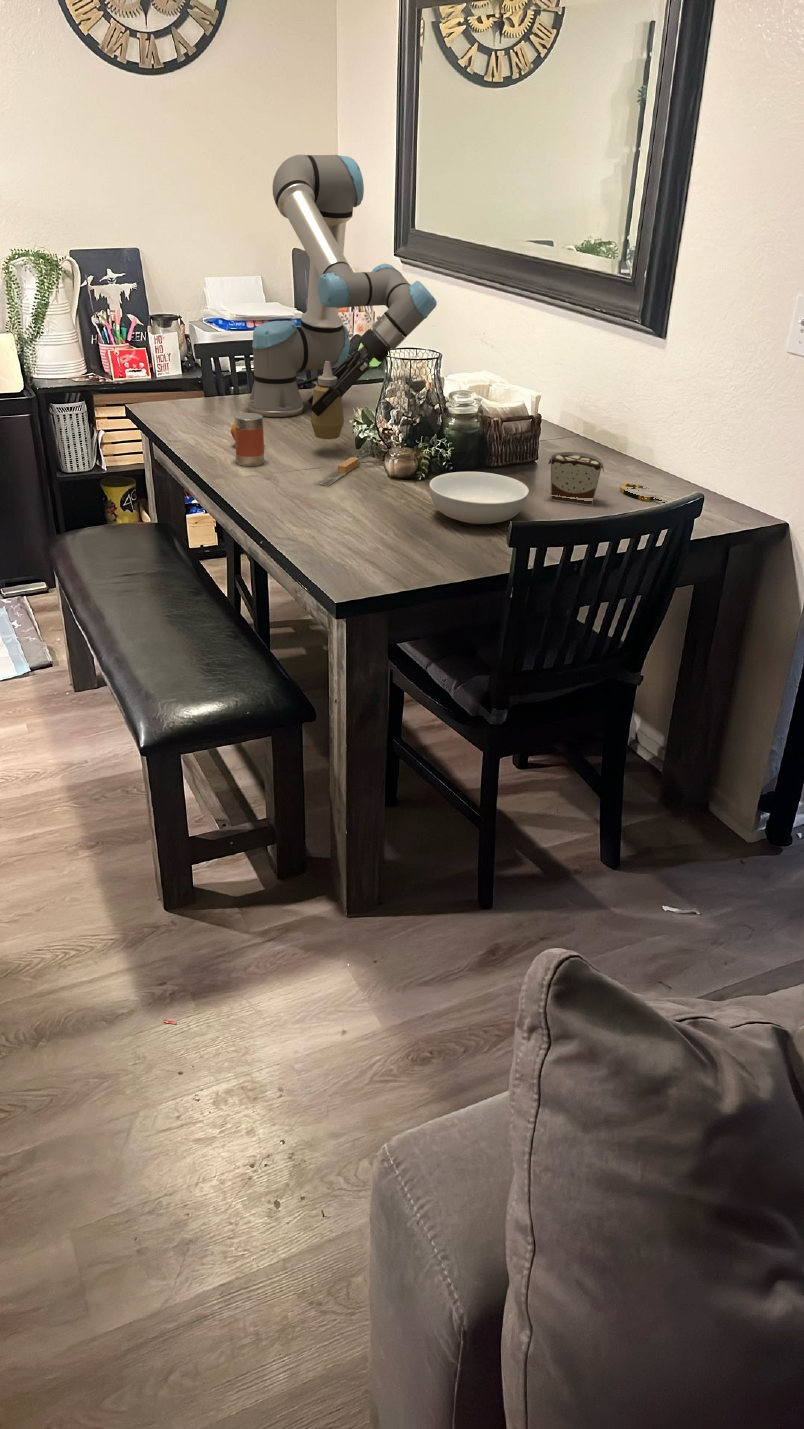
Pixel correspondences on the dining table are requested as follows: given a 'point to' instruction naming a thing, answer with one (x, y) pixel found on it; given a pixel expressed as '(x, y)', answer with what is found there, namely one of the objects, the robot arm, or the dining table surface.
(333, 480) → the knife
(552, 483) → the food container
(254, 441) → the tin can
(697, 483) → the dining table surface
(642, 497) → the overripe banana
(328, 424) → the squeeze bottle
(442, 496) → the serving bowl
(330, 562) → the dining table surface
